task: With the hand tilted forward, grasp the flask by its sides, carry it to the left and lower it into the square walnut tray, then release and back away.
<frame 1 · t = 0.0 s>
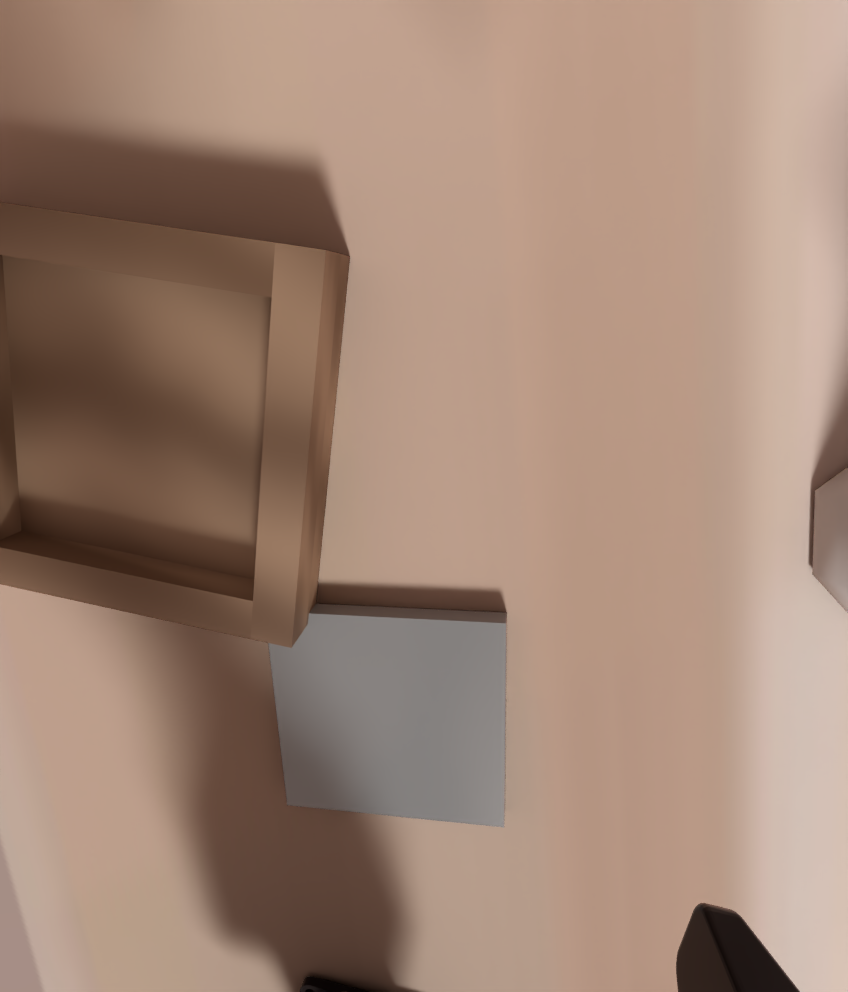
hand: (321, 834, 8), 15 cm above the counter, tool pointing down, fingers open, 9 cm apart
tray: (158, 420, 22), on the counter
slate coaster: (391, 709, 25), on the counter
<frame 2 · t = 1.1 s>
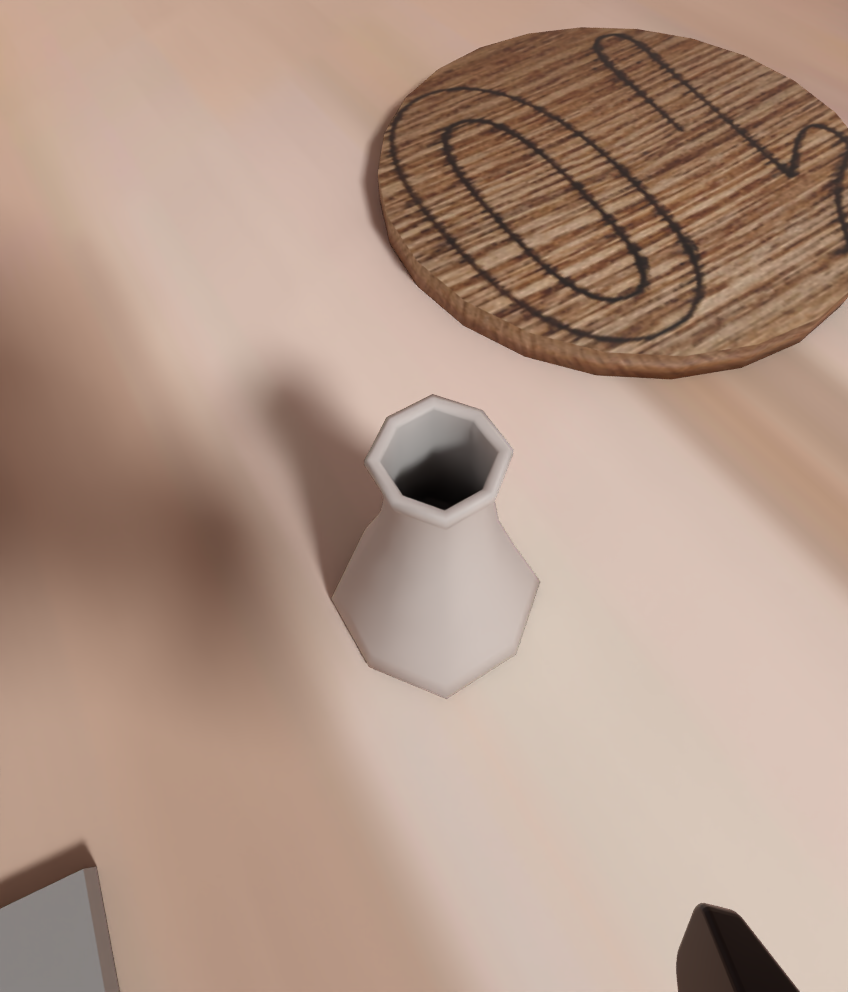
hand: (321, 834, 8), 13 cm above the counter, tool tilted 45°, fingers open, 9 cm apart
flask: (436, 594, 23), on the counter
trivet: (612, 198, 33), on the counter
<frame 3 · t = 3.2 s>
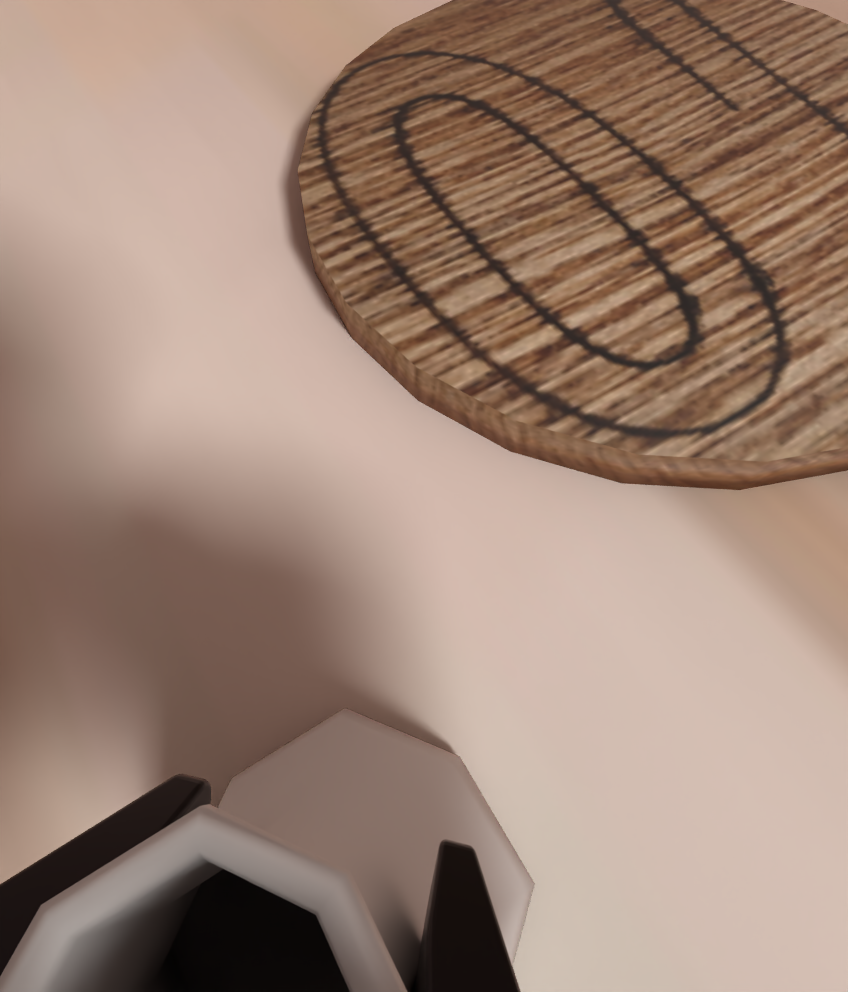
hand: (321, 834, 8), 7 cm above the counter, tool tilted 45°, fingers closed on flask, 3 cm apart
flask: (352, 899, 13), on the counter, touching gripper
trivet: (637, 206, 24), on the counter
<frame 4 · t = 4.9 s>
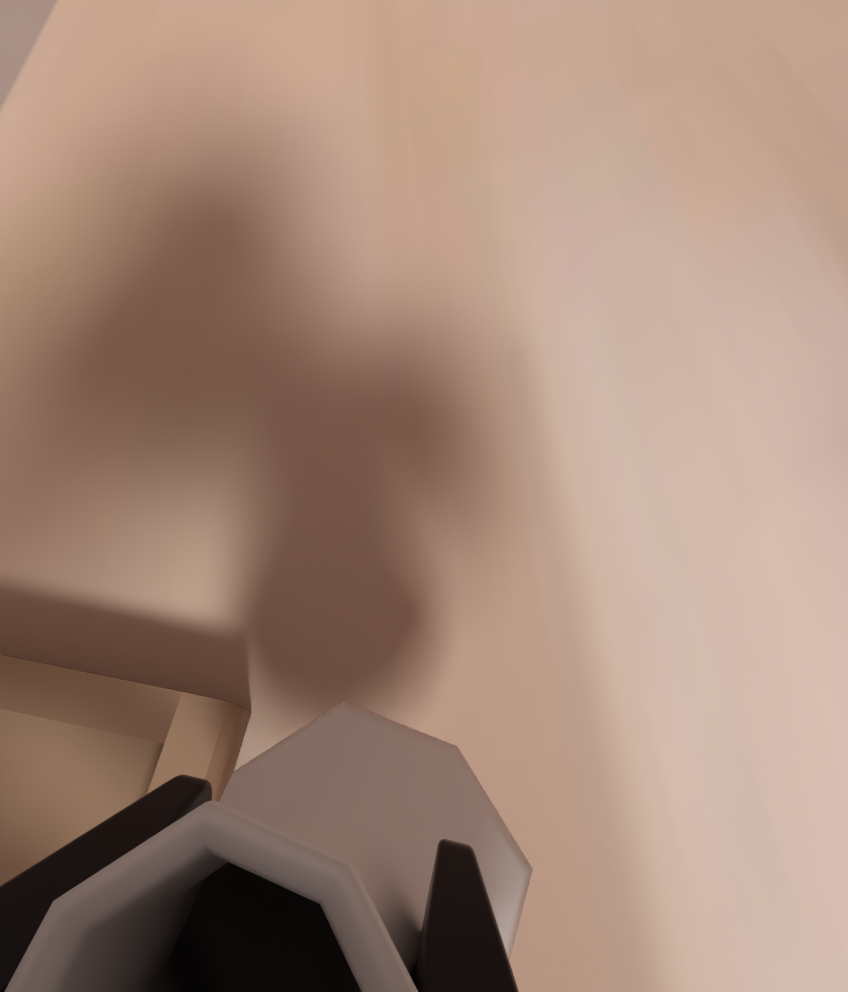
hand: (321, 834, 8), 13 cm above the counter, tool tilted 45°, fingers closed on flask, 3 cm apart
flask: (354, 887, 13), point 6 cm above the counter, touching gripper
when the fingers open (9 cm above the counter, at t = 6.7 s): flask stays where it is, resting on tray.
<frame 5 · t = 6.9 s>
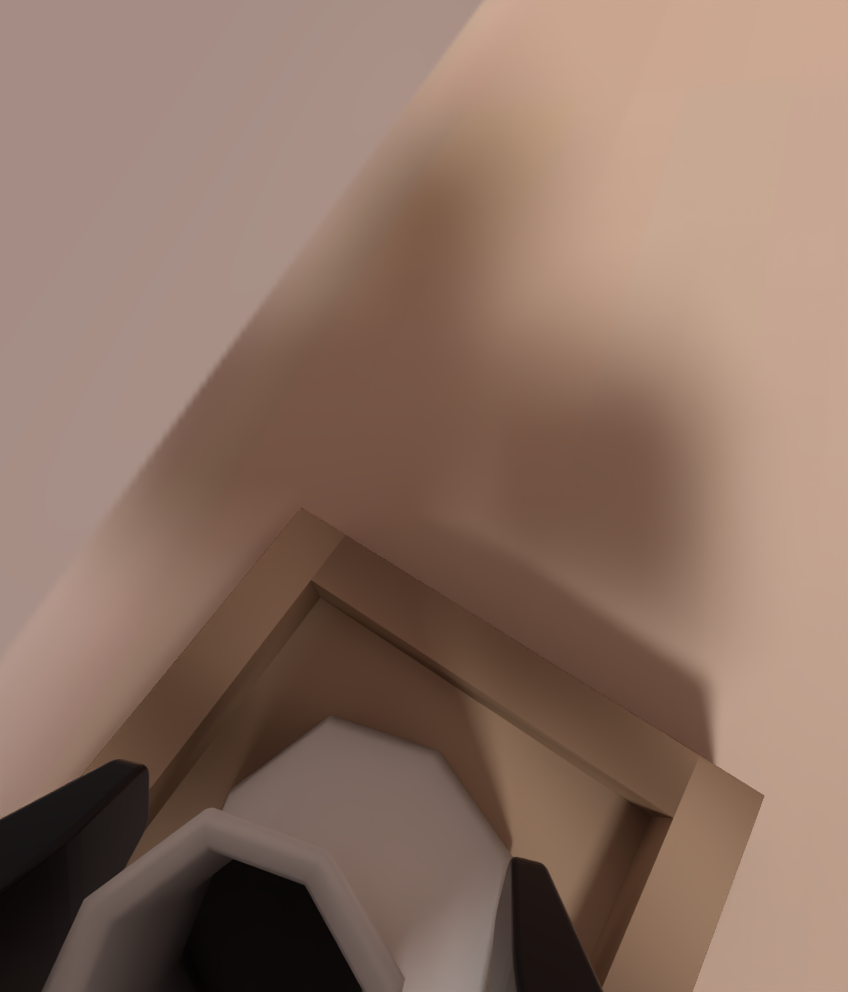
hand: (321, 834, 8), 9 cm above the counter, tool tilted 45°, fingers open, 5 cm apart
tray: (364, 883, 15), on the counter
flask: (350, 888, 14), point 1 cm above the counter, touching tray
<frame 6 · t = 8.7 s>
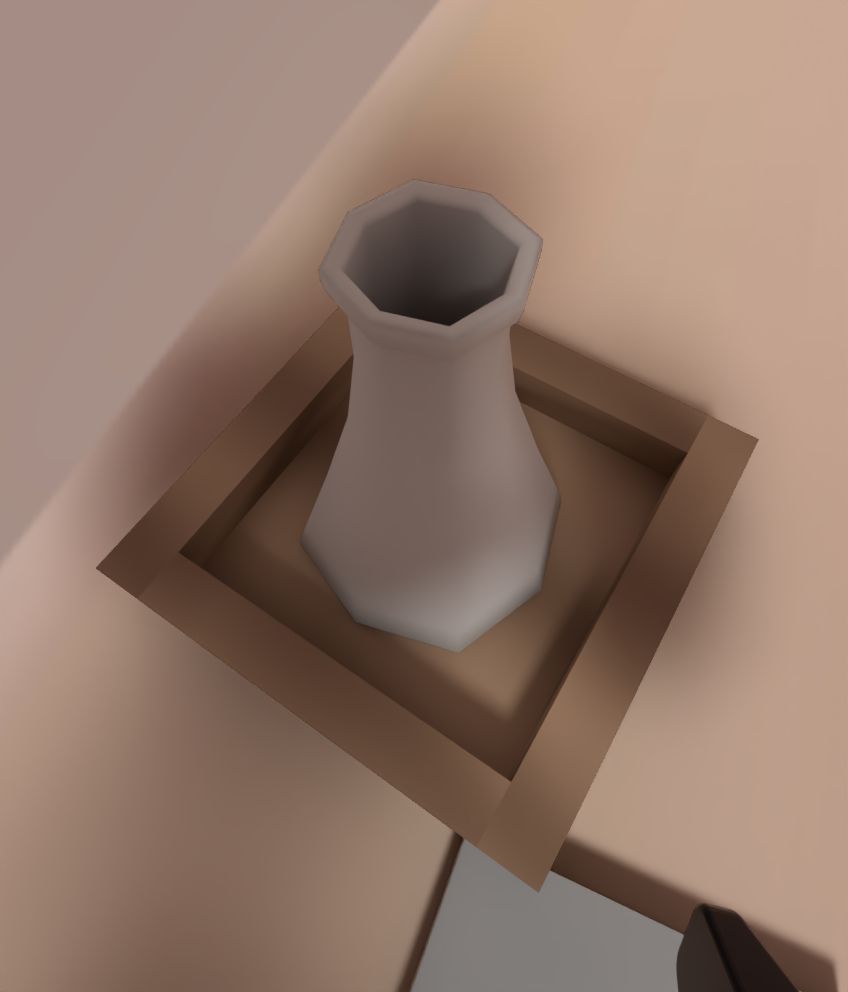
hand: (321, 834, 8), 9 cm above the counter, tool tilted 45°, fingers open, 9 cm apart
tray: (440, 536, 19), on the counter
flask: (432, 527, 18), point 1 cm above the counter, touching tray
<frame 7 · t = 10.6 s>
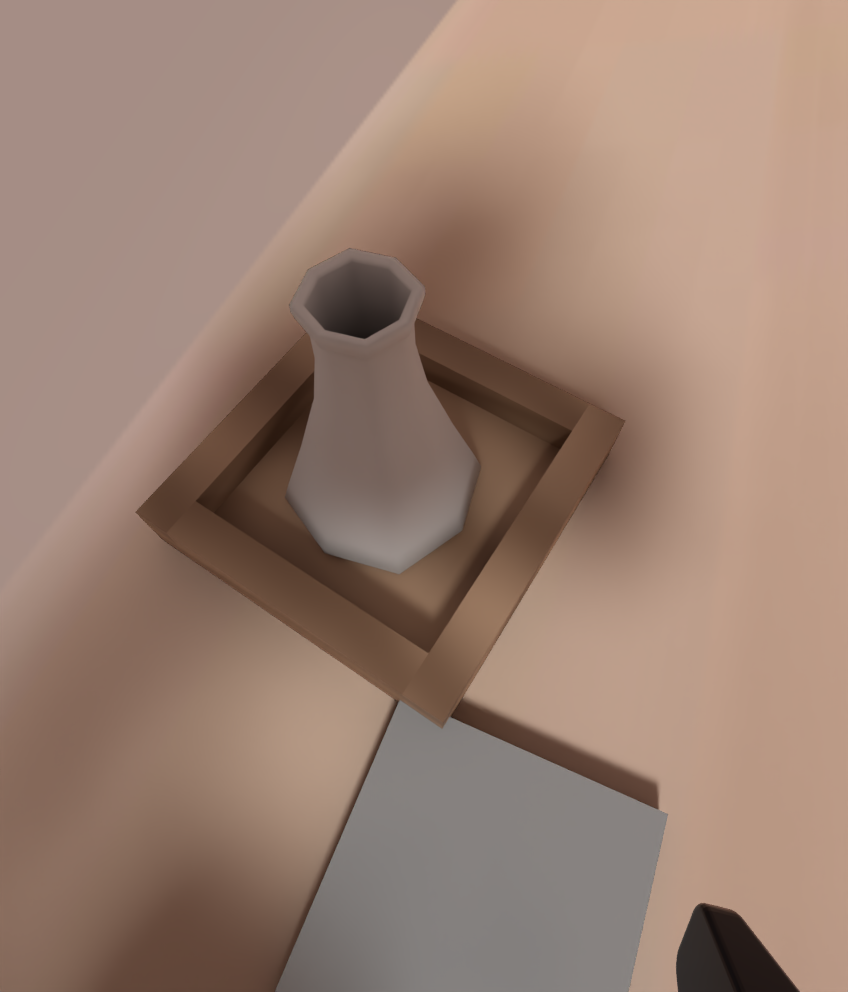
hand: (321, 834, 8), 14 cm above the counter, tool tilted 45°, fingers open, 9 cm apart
tray: (392, 495, 25), on the counter
flask: (384, 487, 24), point 1 cm above the counter, touching tray
slate coaster: (477, 901, 19), on the counter
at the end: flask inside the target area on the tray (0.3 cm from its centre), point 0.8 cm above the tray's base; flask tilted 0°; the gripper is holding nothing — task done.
